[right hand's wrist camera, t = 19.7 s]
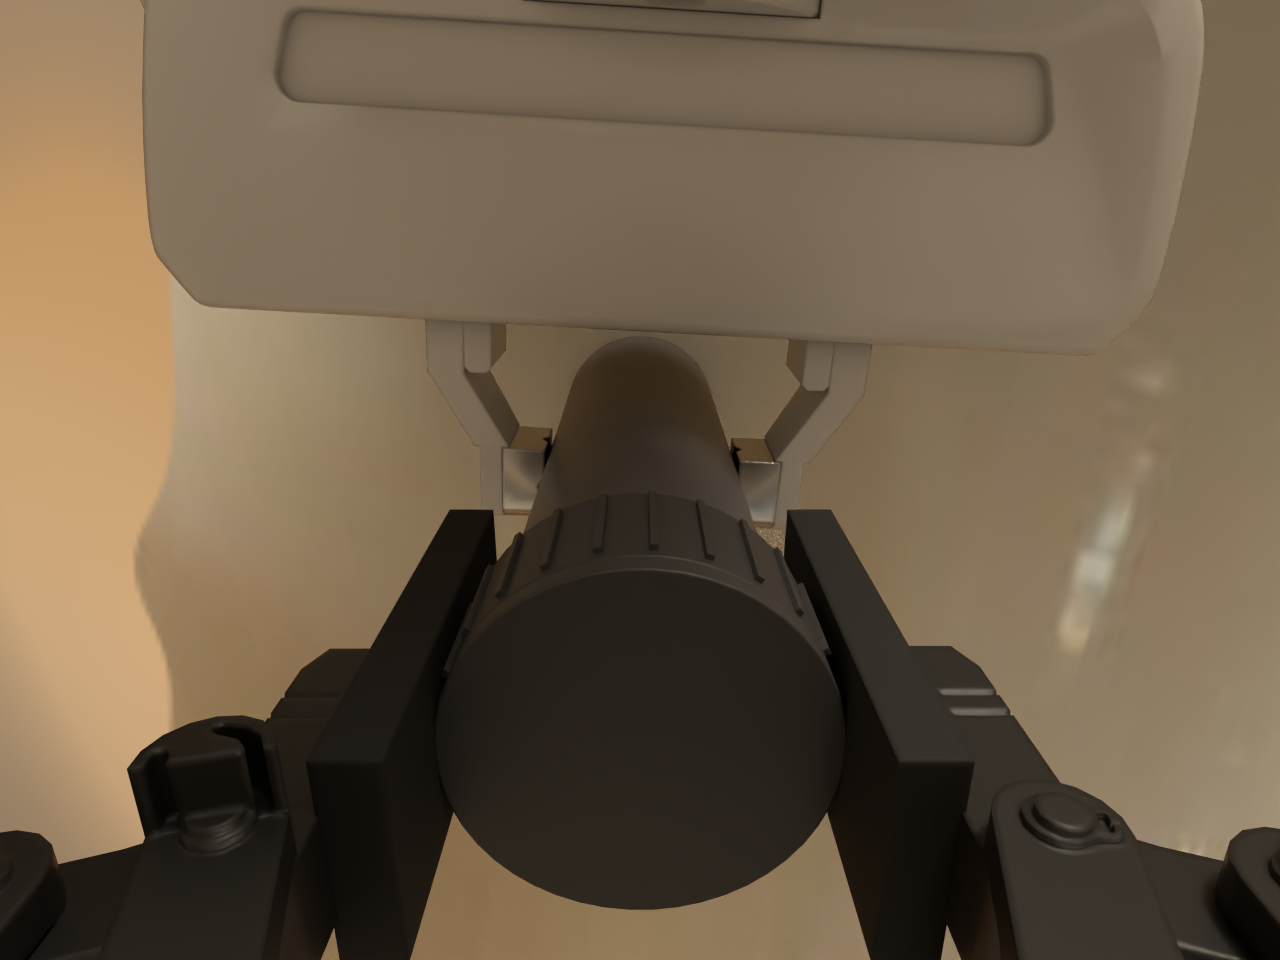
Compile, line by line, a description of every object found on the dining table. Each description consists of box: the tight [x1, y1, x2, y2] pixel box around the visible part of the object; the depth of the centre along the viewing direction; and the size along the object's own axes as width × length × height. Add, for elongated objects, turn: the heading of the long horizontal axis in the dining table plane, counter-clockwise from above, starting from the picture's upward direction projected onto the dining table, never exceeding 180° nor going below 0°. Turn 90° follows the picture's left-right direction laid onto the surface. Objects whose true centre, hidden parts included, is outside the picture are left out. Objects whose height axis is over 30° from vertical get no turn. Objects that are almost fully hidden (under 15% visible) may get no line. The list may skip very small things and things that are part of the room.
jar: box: [524, 337, 757, 533], centre depth 18 cm, size 4×4×16 cm
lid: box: [435, 491, 846, 910], centre depth 11 cm, size 5×5×2 cm
